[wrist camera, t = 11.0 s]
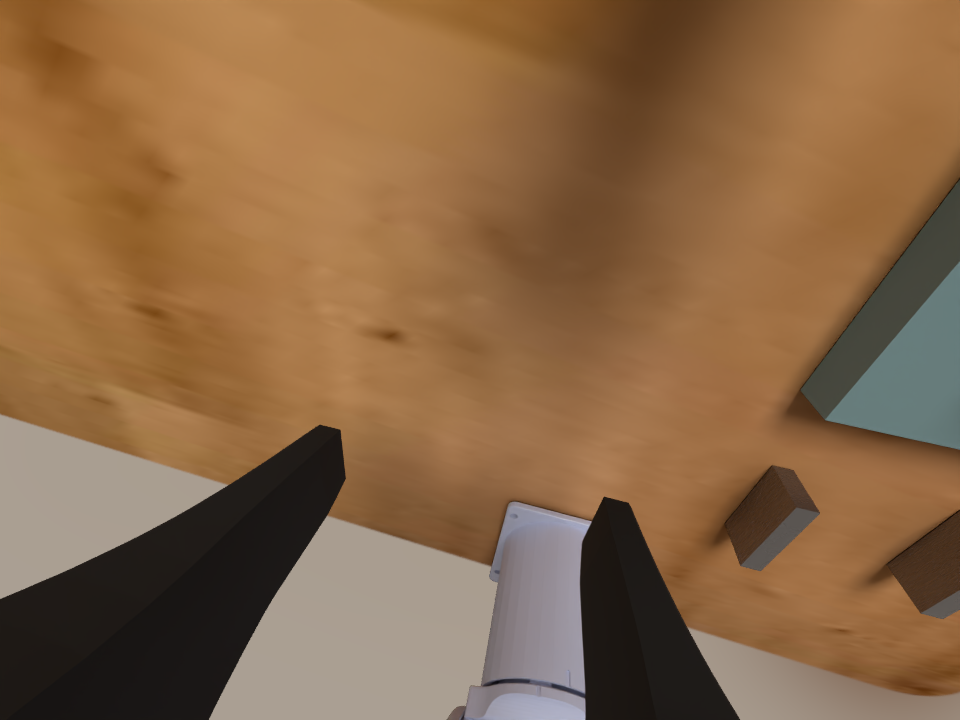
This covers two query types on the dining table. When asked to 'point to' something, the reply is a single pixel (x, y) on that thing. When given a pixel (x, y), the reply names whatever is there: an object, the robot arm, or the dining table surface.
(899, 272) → the socket board
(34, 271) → the dining table surface
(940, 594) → the metal stand
